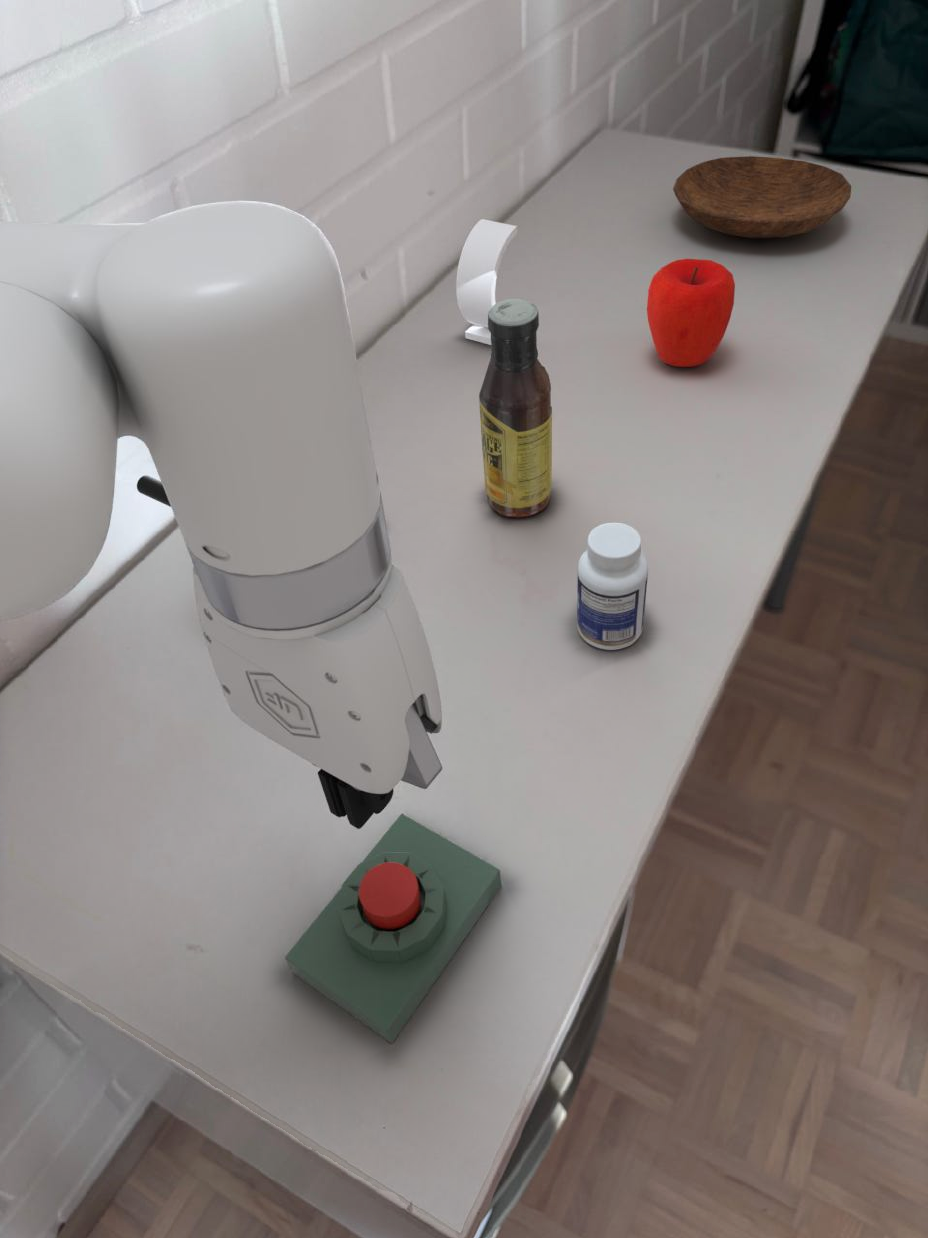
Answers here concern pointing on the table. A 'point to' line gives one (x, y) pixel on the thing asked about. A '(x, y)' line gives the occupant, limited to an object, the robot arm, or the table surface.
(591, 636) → the pill bottle
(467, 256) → the headphone stand
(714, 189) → the bowl
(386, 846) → the button box
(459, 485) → the table surface
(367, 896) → the button
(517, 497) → the sauce bottle
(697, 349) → the apple
